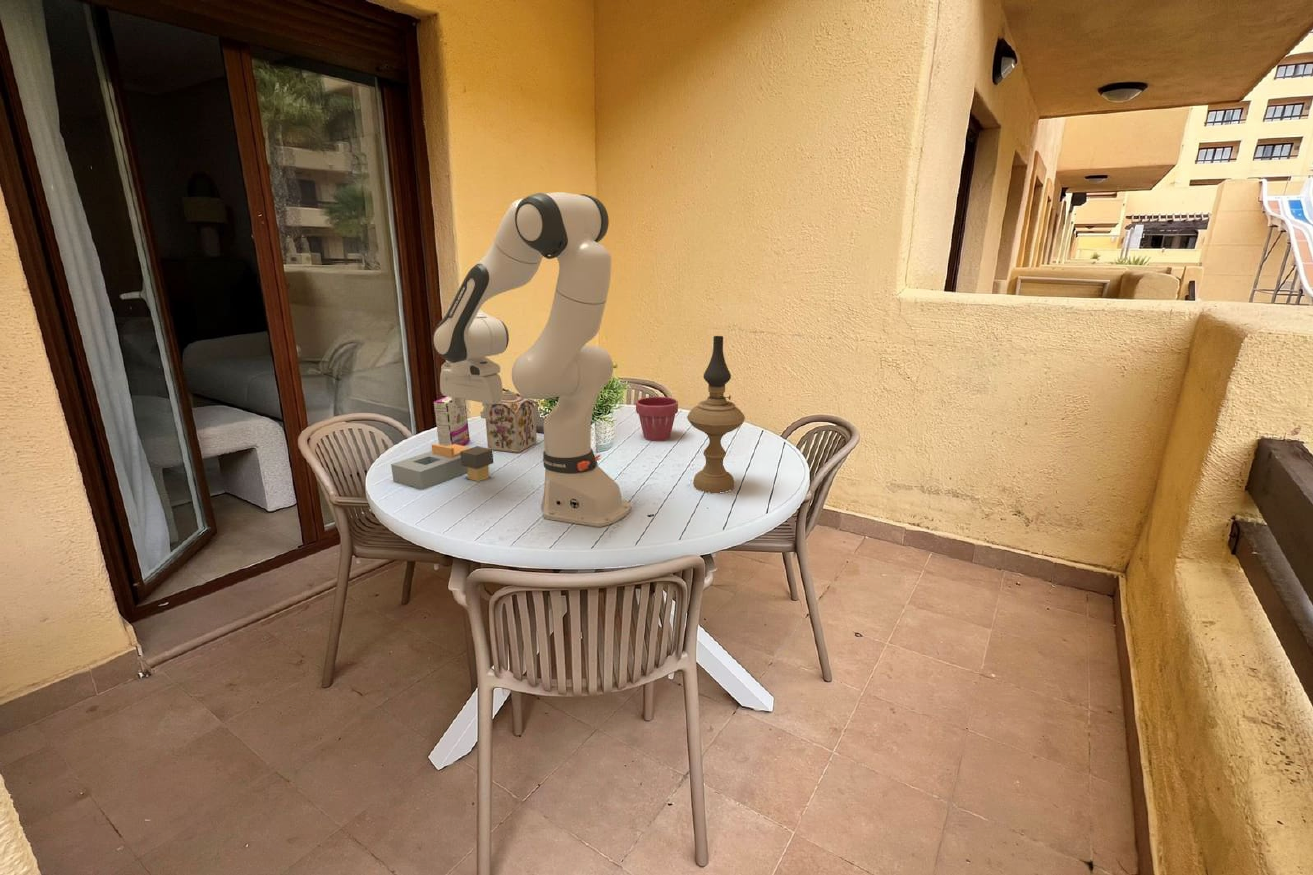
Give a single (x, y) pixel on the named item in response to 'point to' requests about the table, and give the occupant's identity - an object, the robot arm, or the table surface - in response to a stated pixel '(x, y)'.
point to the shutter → (448, 450)
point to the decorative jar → (511, 424)
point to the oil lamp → (715, 423)
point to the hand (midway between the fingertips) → (472, 415)
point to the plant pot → (657, 416)
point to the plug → (477, 462)
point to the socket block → (427, 470)
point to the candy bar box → (451, 423)
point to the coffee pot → (537, 417)
